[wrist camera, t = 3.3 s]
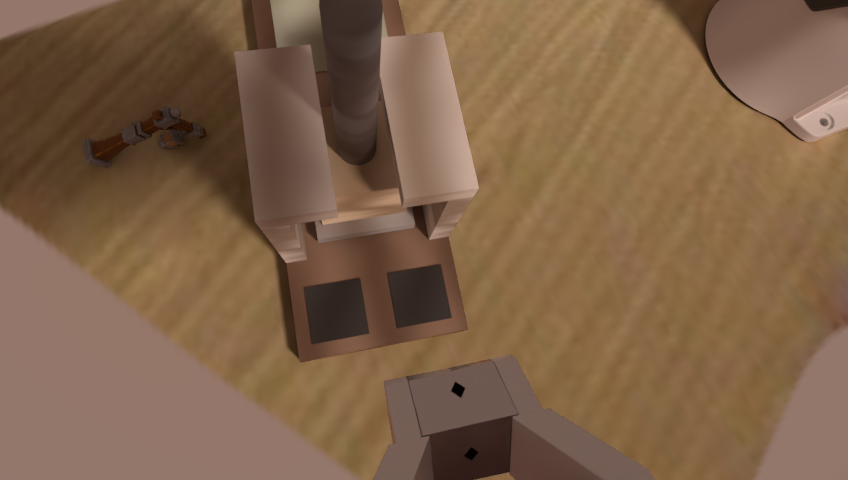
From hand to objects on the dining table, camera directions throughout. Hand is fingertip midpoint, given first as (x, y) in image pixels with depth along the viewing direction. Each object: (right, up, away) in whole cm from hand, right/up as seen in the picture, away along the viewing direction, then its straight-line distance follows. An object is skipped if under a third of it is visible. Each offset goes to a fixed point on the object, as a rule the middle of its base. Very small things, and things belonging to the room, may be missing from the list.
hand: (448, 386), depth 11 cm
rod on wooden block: (-5, +7, +26) cm, 28 cm away
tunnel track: (-6, +10, +29) cm, 31 cm away
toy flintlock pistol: (-22, +11, +27) cm, 36 cm away
